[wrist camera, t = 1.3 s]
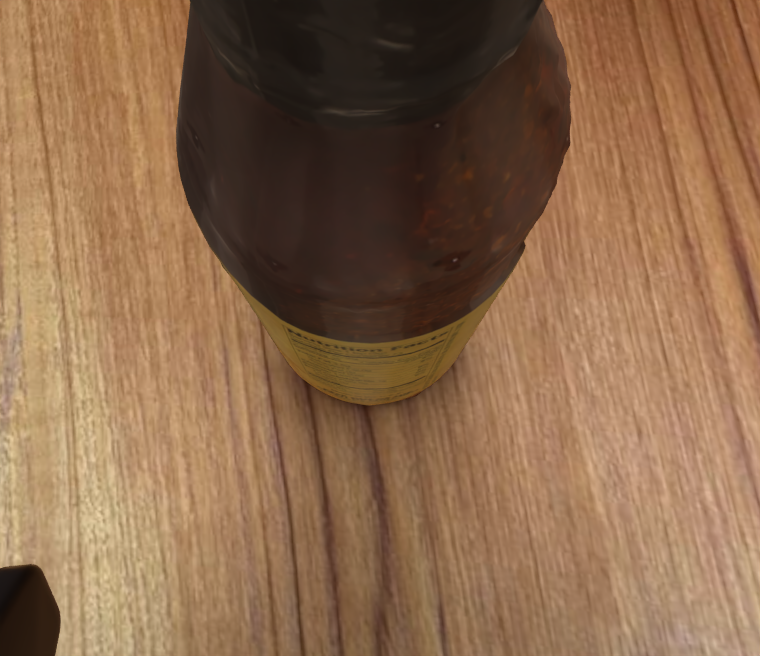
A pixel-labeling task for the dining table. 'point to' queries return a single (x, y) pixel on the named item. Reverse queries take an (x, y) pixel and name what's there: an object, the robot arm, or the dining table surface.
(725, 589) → the dining table surface
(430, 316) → the sauce bottle
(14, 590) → the robot arm
